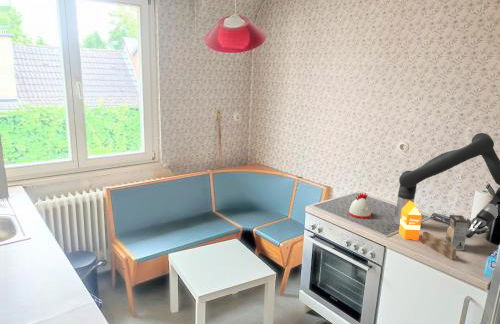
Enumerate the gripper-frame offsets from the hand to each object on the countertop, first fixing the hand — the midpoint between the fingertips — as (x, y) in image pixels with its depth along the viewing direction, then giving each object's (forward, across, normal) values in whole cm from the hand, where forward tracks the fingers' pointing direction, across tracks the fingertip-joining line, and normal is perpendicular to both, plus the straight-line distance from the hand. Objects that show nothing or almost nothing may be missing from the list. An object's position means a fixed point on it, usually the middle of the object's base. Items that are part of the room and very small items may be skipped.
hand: (466, 237), depth 184 cm
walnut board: (+18, +2, -12) cm, 21 cm away
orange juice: (+20, -16, -13) cm, 29 cm away
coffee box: (+9, 0, -2) cm, 9 cm away
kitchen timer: (+26, -51, -20) cm, 61 cm away
